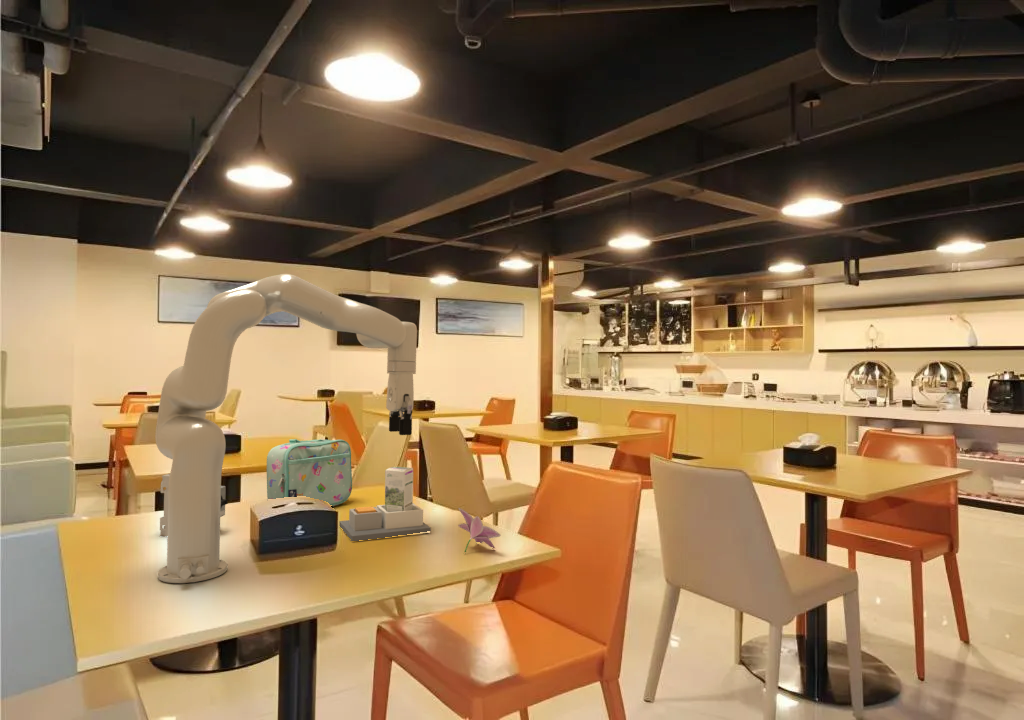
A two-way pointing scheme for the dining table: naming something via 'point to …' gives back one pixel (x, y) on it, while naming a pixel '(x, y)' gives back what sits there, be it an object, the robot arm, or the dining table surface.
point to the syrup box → (398, 489)
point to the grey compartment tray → (383, 523)
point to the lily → (477, 529)
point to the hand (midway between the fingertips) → (400, 433)
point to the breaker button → (364, 510)
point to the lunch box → (310, 470)
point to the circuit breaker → (165, 519)
